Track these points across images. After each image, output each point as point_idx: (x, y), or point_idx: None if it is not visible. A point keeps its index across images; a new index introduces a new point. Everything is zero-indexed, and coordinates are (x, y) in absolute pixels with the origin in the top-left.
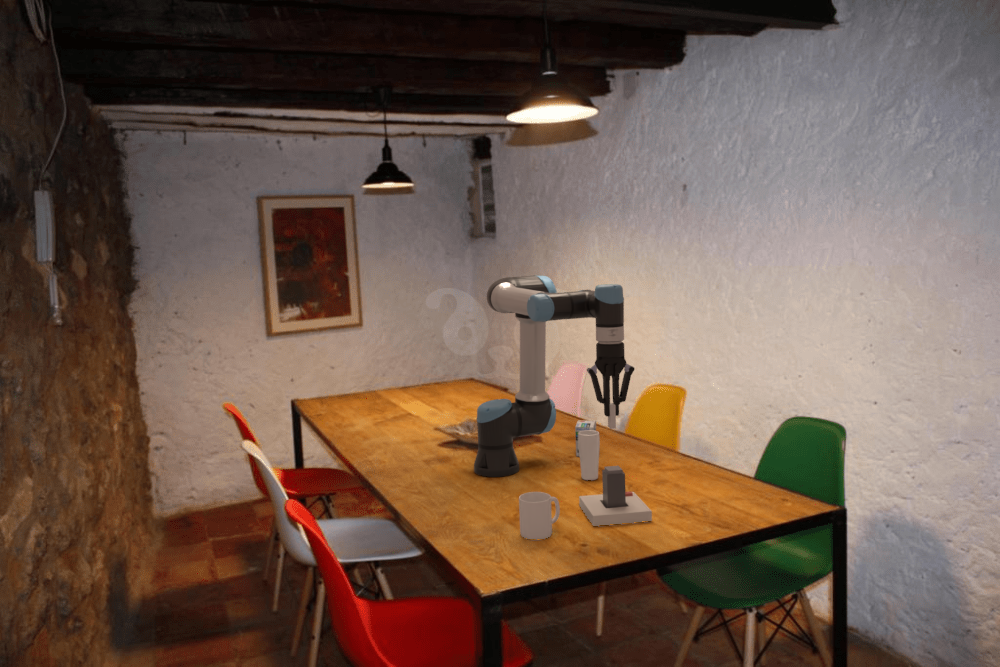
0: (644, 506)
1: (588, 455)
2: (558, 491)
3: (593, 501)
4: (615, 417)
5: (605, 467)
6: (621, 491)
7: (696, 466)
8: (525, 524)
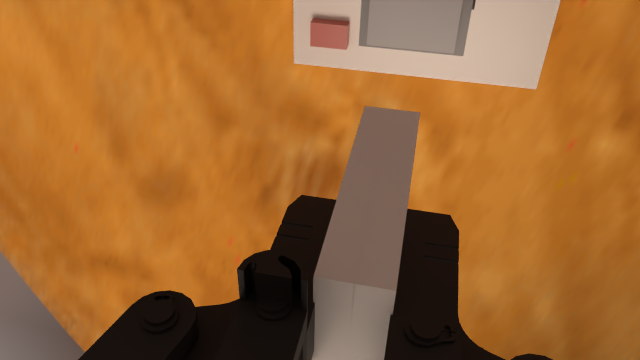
0: None
1: None
2: (529, 232)
3: (508, 5)
4: (348, 170)
5: (455, 36)
6: None
7: (39, 257)
8: None
